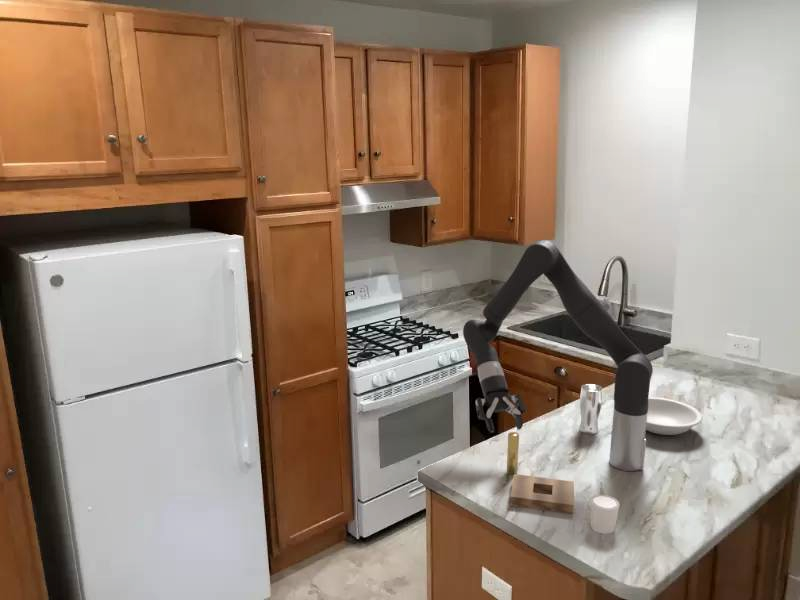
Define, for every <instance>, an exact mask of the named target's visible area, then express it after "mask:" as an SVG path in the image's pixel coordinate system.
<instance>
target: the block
mask: <svg viewBox="0 0 800 600" xmlns="http://www.w3.org/2000/svg"><path fill="white" fill-rule="evenodd" d="M509 497H510V499H509V500H510V501H509V505H510V504H512V505H511V506H513V505H517V506H516V507H521V506H523V507H522V508H528V507H529V508H530V509H535V508H536V509H535V510H542V511H543V510H544V511H549V512H550V511H551V512H557V513H564V514H573V515H574V509H575V482H574V481H571V480H565V479H555V478H550V477H541V476H532V475H524V474H518V473H517V474H514V476H513V479H512V485H511V491H510V496H509Z"/></svg>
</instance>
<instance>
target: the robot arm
mask: <svg viewBox="0 0 800 600" xmlns="http://www.w3.org/2000/svg"><path fill="white" fill-rule="evenodd" d="M542 275H544V276H545V278H546V279H548V281H549V282H550V284H552V285H553V287H554V289H555V290H556V291H557V294H558V296H559V299H560V301H561V304H562V306H563V307H564V309H565V311H566V313H567V315H568V316H569V317H570V318H571V320H572V321H573V323H575V325H576V326H577V327H578V328H579V330H580V331H581V332H582V333H583V334H585V335H586V336H587V337H588V338H590V339H591V340H592V341H593V342H595V343H596V344H598V345H599V346H600V347H602V348H603V349H604V350H605V351H606V353H608V355H609V357H611V359H612V361H613V362H614V363H615V365H616V366H617V367H616V370H615V376H614V390H613V401H614V402H613V403H614V405H613V415H612V416H613V417H612V423H611V424H612V427H611V437H610V449H609V461H608V462H609V464H610V466H612V467H614V468H615V469H618V470H621V471H626V472H636V471H644V466H645V457H646V454H645V453H646V447H647V437H646V434H647V430H646V425H647V415H648V397H650V396H649V394H650V383H651V378H652V376H653V369H654V368H653V364H652V362H651V361H650V359H649V358H648V357H647V356H646V355H645V353H643V352H642V351H641V349H640V348H638V347H637V345H635V344H634V343H633V341H632V340H630V339H629V337H627V336H626V334H625V333H624V332H623V331H622V329H621V328H620V326H619V324H618V323H617V322H616V321H615V320H614V318H613V317H612V316H611V315H610V313H609V312H608V310H607V309H606V308H605V306H604V305H603V304H602V303H601V301H599V298H597V297H596V295H594V294H593V292H592V291H591V290H590V289H589V287H587V285H586V284H585V283H584V282H583V281H582V279H580V277H579V276H578V275H577V274H576V273H575V272H574V270H573V269H572V268H571V266H570V264H569V263H568V261H567V260H566V259H565V257H564V255H563V254H562V252H561V251H560V249H559V247H557V246H556V245H555V244H554V243H553V242H551V241H550V240H546V239H541V240H538V241H536V242H534V243H531V244H529V246H528V247H526V248H525V250H524V252H523V255H522V256H521V258H520V260H519V262H518V263H517V265H516V267H515V268H514V270H513V272H512V273H511V275H509V277H508V279H507V280H506V281H505V282H504V283H503V285H502V286H501V287H500V288H499V290H498V291H497V292H496V293H495V295H494V296H493V297H492V298H491V299H490V300H489V302H488V303H487V304H486V306H484V308H483V309H482V310H483V312H482V315H483V316H484V318H485V319H486V320H484V321H482V320H477V319H469V320H467V321H466V322H465V323H464V325H463V328H462V335H463V338H464V341H465V343H466V344H467V347H468V348H469V350H470V352H471V354H472V355H473V357H474V360H475V364H476V365H475V366H476V368H477V377H478V379H479V383H480V387H481V390H482V394H483V396H484V398H481V397H477V398H476V400H475V402H474V403H475V410H476V413H477V419H478V420H483V421H484V422H485V424H486V429H487V431H488V432H489V433H490V434H492V433H493V434H494V432H495V426H494V421H493V418H492V415H493V413H499V412H501V413H503V412H507V413H508V414H510V415H512V417H514V418H513V419H514V422H515V426H516V427H515V428H516V429H517V430H521V429H523V426H524V423H523V420H522V416H523V415H524V414H525V412H526V411H527V410H526V407H525V405H524V402H523V400H522V397H521V394H520V393H516V394H514V395H511V394H510V393H509V388H508V383H507V381H506V378H505V373H504V371H503V367H502V366H501V363H500V359H499V356H498V353H497V350H496V349H495V347H494V346H492V345H490V343H492V342H493V341H494V340H495V339H496V337H497V335H498V334H499V331H500V328H501V326H502V324H503V322H504V320H505V319H506V318H507V317H508V316H509V315H510V313H512V311H513V310H514V308H515V307H516V306H517V304H518V302H519V301H520V300H521V298H522V296H523V295H524V293H525V292H526V291H527V290H528V288H529V287H530V286H531V285H532V284H533V283H534V282H535V281H536V280H537V279H539V278H540V277H541V276H542ZM512 402H513V403H512ZM484 404H485V406H487V408H488V409H487V411H486V414H485V412H484ZM514 404H515V405H514Z"/></svg>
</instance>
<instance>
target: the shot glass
mask: <svg viewBox="0 0 800 600" xmlns="http://www.w3.org/2000/svg"><path fill="white" fill-rule="evenodd" d="M589 500H590V501H589V503H590V504H589V506H590V509H589V510H590V512H589V513H590V527H591V528H592V530H594V531H596V532H597V533H600V534H603V535H604V534H605V535H608V534H613V533H614V531H615V529H616V524H617V519H618V515H619V509H620V502H619V500H617V498H615V497H613V496H610V495H606V494H594V495H592V496H591V497H590V499H589Z"/></svg>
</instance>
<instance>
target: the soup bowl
mask: <svg viewBox="0 0 800 600" xmlns="http://www.w3.org/2000/svg"><path fill="white" fill-rule="evenodd" d="M702 421H703V415H702V413H701V412H700V411H699V410H697V409H696V408H695V407H693V406H691V405H689V404H687V403H684V402H682V401H677V400H675V399H669V398H666V397H665V398H664V397H656V396H648V415H647V425H646V432H650V433H654V434H655V435H656V434H657V435H661V436H662V435H663V436H664V435H665V436H673V435H674V436H676V435H680V434H683V433H686V432H687V431H689V430H691V429H692V428H693V427H694V426H697V425H698V424H700V423H701V422H702Z"/></svg>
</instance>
